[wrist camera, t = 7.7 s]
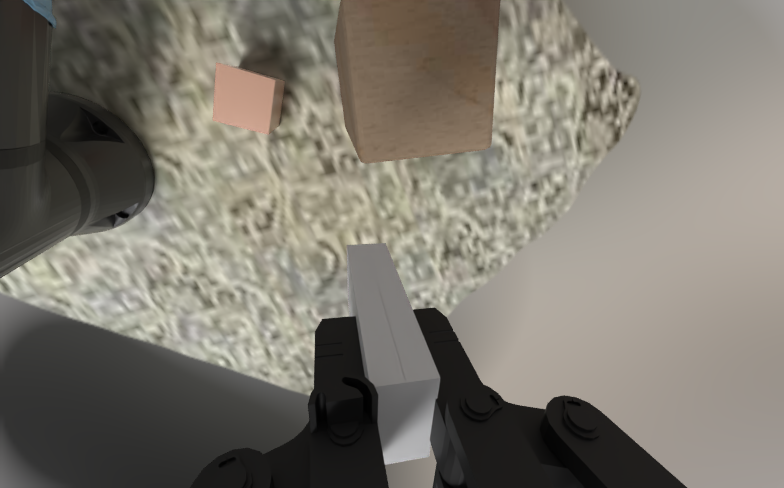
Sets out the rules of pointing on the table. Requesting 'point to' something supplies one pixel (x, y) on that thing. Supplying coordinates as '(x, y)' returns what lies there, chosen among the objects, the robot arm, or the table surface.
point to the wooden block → (417, 76)
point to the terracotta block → (247, 99)
